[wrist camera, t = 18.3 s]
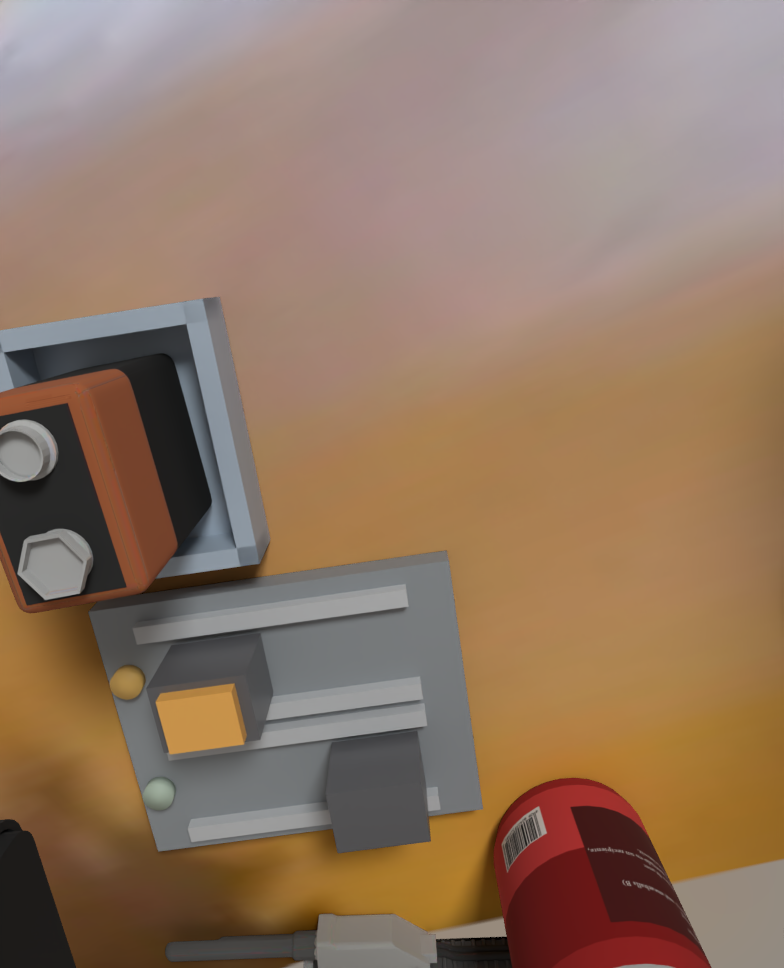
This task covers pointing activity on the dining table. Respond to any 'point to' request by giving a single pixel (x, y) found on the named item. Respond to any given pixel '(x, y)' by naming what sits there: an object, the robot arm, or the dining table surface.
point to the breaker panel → (298, 692)
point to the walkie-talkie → (354, 946)
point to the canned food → (587, 884)
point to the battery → (96, 482)
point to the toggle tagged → (211, 694)
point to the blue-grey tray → (209, 399)
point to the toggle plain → (377, 792)
